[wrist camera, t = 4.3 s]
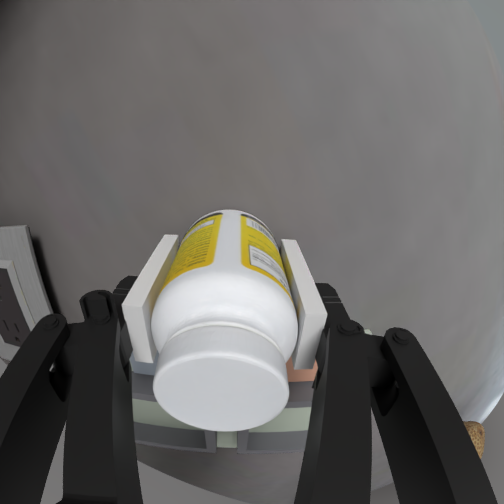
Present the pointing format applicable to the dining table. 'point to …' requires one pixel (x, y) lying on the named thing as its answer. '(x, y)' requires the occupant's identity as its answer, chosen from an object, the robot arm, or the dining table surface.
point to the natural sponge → (476, 435)
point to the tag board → (200, 440)
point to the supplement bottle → (224, 326)
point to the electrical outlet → (19, 289)
